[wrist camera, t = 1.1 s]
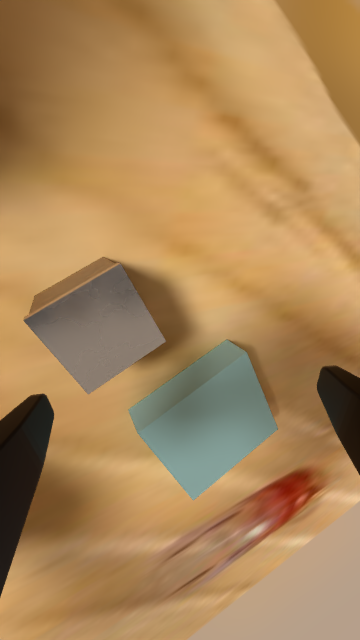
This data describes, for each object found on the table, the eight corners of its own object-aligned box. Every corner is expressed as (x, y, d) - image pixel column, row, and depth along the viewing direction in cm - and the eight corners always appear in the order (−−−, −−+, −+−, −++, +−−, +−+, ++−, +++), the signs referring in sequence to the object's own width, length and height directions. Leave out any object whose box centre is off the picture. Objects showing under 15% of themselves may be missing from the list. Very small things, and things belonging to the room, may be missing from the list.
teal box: (178, 471, 29) (193, 500, 26) (127, 407, 23) (137, 433, 20) (256, 409, 31) (278, 429, 28) (224, 337, 26) (246, 352, 23)
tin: (80, 354, 20) (88, 394, 15) (32, 295, 18) (23, 320, 13) (140, 315, 21) (166, 341, 16) (103, 254, 19) (120, 263, 14)
